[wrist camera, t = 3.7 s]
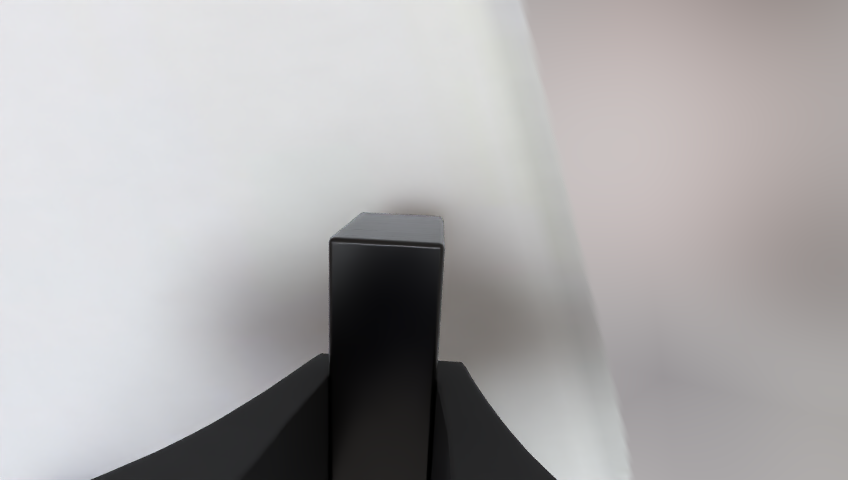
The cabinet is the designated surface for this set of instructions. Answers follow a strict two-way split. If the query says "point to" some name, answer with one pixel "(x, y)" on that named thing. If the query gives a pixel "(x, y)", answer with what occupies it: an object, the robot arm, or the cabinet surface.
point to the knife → (384, 345)
